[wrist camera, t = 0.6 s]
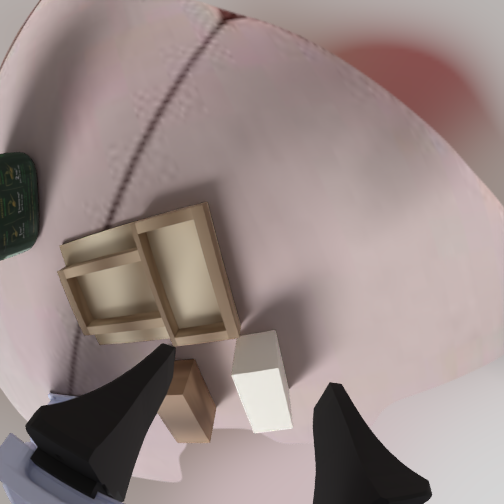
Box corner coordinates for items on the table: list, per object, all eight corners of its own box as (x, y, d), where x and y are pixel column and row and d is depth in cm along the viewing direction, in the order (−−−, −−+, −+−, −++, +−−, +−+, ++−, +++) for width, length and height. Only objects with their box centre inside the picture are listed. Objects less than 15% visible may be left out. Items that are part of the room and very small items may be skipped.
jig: (101, 342, 23) (93, 352, 22) (61, 244, 21) (49, 250, 19) (240, 325, 22) (239, 337, 20) (207, 201, 20) (202, 204, 18)
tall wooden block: (163, 361, 24) (147, 395, 19) (194, 358, 23) (182, 394, 19) (187, 408, 26) (177, 442, 21) (216, 406, 25) (210, 442, 21)
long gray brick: (255, 393, 25) (254, 433, 20) (236, 335, 23) (231, 374, 18) (288, 388, 24) (292, 428, 19) (275, 329, 22) (278, 367, 18)
